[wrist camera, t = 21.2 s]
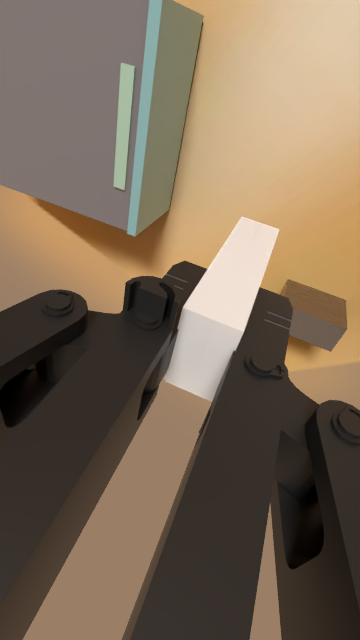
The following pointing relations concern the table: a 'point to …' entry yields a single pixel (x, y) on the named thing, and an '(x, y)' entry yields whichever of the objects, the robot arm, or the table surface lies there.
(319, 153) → the table surface
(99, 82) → the housing
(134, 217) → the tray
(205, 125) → the table surface
